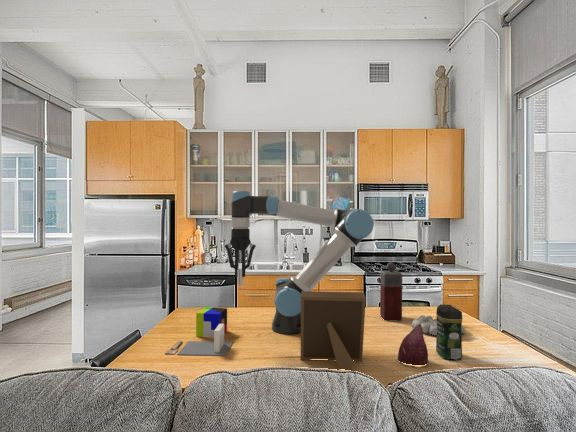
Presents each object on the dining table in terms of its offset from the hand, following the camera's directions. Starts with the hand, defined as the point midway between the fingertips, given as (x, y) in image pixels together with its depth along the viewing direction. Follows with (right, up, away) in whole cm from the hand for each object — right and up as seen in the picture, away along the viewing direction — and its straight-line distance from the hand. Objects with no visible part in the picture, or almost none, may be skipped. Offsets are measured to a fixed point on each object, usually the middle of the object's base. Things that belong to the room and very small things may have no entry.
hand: (240, 284), depth 154 cm
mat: (-11, -22, -12) cm, 28 cm away
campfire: (+87, -24, +12) cm, 91 cm away
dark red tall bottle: (+72, -23, +33) cm, 82 cm away
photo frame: (+35, -23, -26) cm, 49 cm away
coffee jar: (+79, -23, -17) cm, 84 cm away
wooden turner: (-24, -23, -11) cm, 34 cm away
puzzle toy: (-13, -23, +6) cm, 27 cm away
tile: (-6, -22, -12) cm, 26 cm away
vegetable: (+64, -23, -23) cm, 72 cm away
